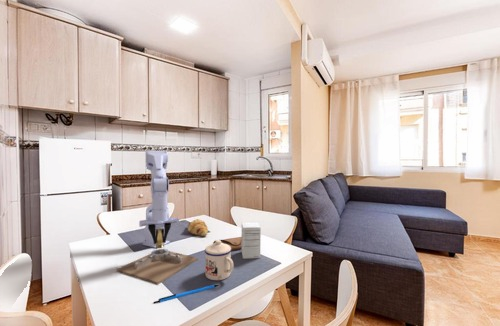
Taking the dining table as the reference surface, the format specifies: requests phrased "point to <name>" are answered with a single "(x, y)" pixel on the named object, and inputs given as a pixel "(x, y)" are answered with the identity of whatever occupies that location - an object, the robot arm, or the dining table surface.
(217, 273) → the teacup with lid
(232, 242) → the sunglasses case
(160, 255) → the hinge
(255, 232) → the supplement box
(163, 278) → the board
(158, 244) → the brass pin
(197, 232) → the croissant
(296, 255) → the dining table surface
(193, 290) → the pen
